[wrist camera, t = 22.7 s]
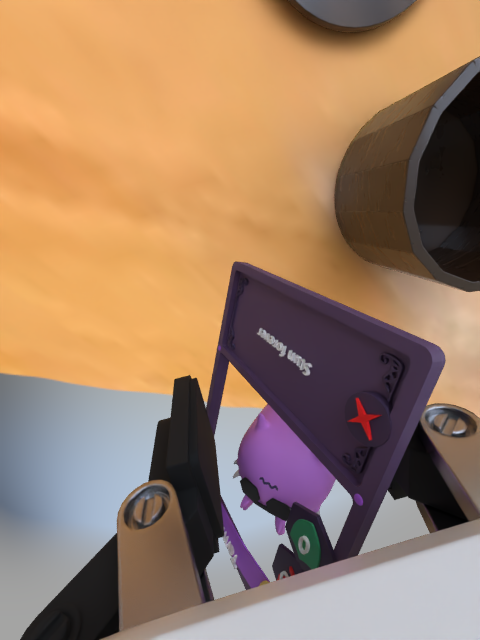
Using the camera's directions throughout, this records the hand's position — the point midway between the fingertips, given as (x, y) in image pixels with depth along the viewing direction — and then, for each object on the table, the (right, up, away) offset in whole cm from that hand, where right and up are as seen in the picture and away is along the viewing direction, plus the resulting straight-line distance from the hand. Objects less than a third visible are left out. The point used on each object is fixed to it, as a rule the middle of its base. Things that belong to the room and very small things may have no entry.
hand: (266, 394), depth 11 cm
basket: (+14, +14, +16) cm, 26 cm away
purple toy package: (0, 0, +1) cm, 1 cm away
